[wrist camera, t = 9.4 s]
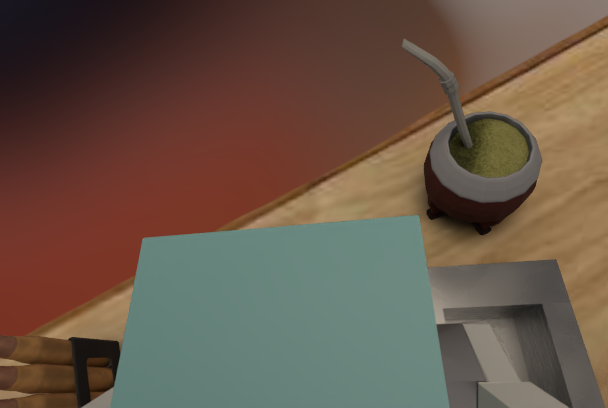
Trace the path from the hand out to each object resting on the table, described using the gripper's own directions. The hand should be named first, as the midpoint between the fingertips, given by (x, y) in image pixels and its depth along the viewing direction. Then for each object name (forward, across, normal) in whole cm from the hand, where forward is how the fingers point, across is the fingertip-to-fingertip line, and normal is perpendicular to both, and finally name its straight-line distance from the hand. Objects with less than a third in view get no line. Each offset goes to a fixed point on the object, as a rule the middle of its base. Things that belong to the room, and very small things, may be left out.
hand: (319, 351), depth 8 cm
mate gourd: (+23, -8, +5) cm, 25 cm away
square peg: (+4, 0, +5) cm, 6 cm away
